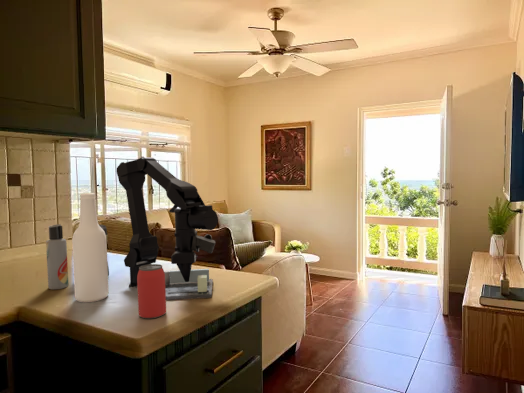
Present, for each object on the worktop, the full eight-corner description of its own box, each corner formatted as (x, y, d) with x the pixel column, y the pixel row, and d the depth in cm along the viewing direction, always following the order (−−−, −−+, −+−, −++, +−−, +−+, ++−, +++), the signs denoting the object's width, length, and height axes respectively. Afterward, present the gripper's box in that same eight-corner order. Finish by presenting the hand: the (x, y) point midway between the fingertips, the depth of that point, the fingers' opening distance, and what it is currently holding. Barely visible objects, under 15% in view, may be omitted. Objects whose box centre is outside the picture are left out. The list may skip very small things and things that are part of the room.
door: (163, 284, 116) (163, 272, 115) (164, 282, 117) (163, 270, 117) (209, 281, 117) (208, 269, 117) (209, 280, 119) (208, 268, 119)
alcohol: (67, 301, 105) (62, 194, 104) (92, 292, 113) (87, 192, 112) (92, 304, 102) (87, 193, 101) (115, 294, 110) (111, 192, 109)
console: (156, 300, 104) (156, 296, 104) (165, 284, 120) (165, 281, 120) (211, 297, 105) (211, 293, 105) (212, 282, 121) (212, 278, 121)
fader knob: (197, 292, 106) (197, 277, 106) (198, 289, 109) (198, 275, 109) (206, 291, 106) (206, 277, 106) (207, 288, 109) (206, 274, 109)
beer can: (142, 310, 96) (140, 264, 95) (168, 309, 96) (166, 263, 96) (135, 320, 89) (133, 270, 89) (163, 318, 90) (161, 269, 89)
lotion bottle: (72, 285, 122) (69, 223, 121) (57, 290, 116) (54, 226, 116) (59, 284, 124) (56, 223, 123) (44, 289, 118) (40, 225, 117)
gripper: (212, 231, 101) (214, 289, 101) (214, 223, 119) (215, 272, 120) (169, 233, 99) (172, 291, 100) (178, 224, 118) (180, 274, 119)
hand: (187, 281), depth 110 cm, fingers closed
